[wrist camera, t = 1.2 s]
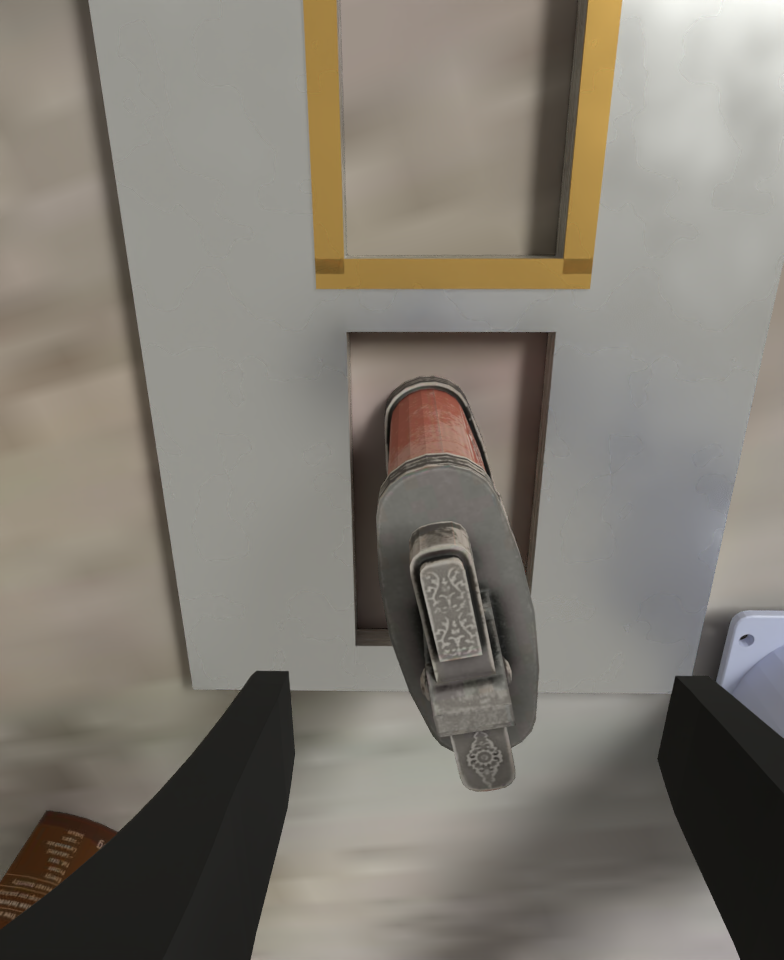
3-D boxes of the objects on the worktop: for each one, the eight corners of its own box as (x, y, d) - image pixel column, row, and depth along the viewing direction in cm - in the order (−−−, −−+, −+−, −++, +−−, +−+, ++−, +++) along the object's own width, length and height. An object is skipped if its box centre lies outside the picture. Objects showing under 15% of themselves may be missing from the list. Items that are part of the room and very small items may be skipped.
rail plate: (677, 675, 25) (688, 695, 24) (200, 671, 25) (192, 691, 24) (903, -401, 14) (942, -448, 13) (48, -387, 14) (20, -433, 13)
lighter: (511, 584, 23) (582, 834, 14) (418, 601, 24) (427, 856, 15) (472, 364, 20) (530, 503, 11) (366, 387, 21) (336, 540, 11)
